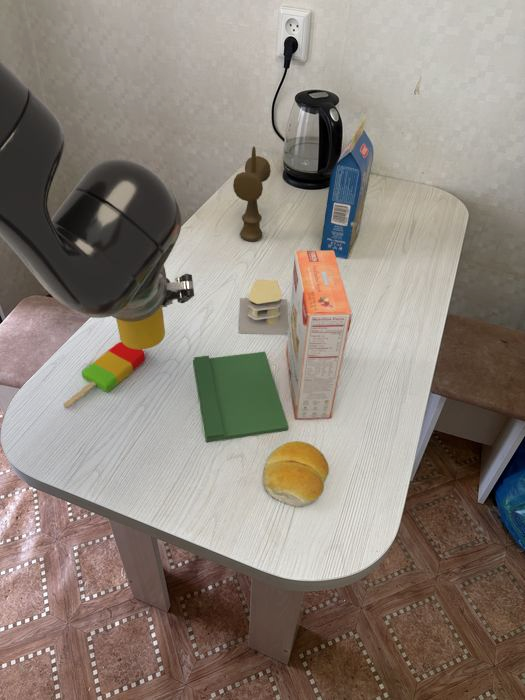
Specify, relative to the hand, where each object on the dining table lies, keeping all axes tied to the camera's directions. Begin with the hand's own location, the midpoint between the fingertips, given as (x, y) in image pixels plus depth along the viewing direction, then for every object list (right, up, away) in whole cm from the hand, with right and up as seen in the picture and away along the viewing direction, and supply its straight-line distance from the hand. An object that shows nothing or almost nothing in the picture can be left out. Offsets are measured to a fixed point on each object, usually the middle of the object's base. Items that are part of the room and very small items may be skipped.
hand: (138, 301), depth 67 cm
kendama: (+14, +18, +45) cm, 51 cm away
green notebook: (+13, -13, +11) cm, 22 cm away
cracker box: (+23, -12, +14) cm, 30 cm away
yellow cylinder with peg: (0, -4, +2) cm, 5 cm away
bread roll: (+21, -24, +1) cm, 32 cm away
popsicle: (-9, -11, +13) cm, 19 cm away
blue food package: (+34, +17, +45) cm, 59 cm away
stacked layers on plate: (+17, 0, +26) cm, 31 cm away
